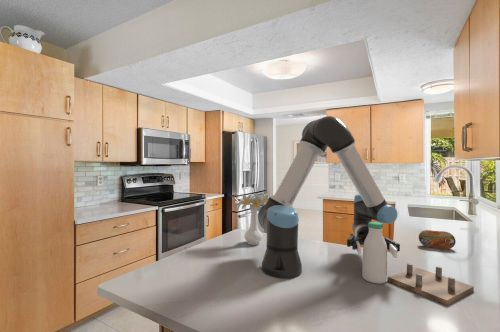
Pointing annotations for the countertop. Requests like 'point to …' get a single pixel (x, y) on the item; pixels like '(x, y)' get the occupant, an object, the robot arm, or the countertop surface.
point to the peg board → (431, 284)
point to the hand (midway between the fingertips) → (377, 252)
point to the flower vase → (253, 216)
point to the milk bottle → (375, 255)
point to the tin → (437, 239)
